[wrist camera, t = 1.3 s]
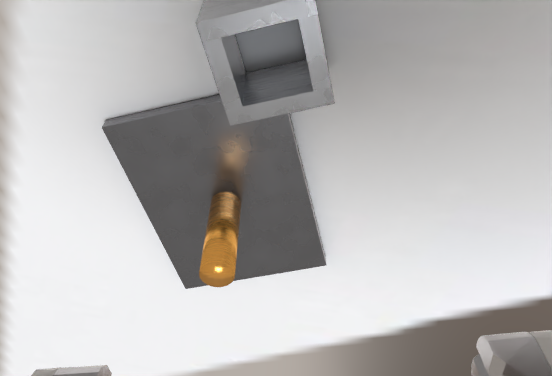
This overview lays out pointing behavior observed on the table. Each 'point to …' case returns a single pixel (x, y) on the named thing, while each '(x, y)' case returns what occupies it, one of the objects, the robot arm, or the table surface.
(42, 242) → the table surface
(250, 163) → the base
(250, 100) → the hollow square tube
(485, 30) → the table surface
